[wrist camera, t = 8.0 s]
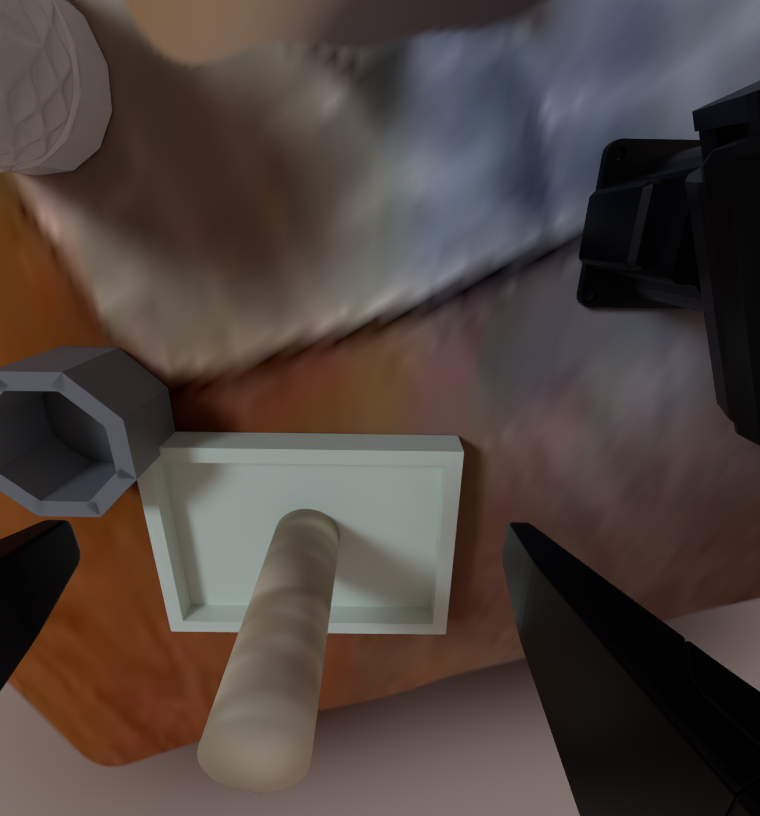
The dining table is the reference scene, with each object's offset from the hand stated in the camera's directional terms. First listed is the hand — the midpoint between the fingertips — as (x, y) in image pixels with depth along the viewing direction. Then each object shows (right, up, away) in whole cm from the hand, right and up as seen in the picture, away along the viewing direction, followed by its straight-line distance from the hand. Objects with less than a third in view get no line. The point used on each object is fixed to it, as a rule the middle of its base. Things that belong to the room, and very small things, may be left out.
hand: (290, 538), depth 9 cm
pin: (-2, -4, +15) cm, 16 cm away
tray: (-2, -4, +16) cm, 16 cm away
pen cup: (-12, +2, +13) cm, 18 cm away
